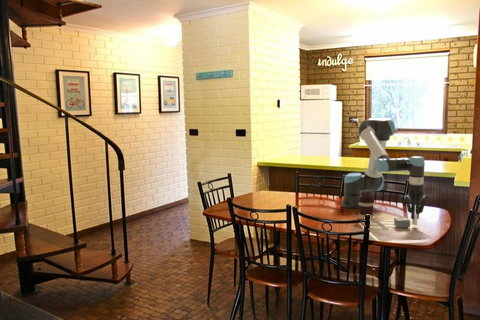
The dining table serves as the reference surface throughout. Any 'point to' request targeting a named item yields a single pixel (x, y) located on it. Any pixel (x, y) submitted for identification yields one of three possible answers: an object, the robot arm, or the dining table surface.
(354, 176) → the robot arm
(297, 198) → the dining table surface
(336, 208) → the dining table surface
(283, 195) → the dining table surface
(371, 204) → the coffee cup
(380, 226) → the subfloor panel
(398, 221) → the block
